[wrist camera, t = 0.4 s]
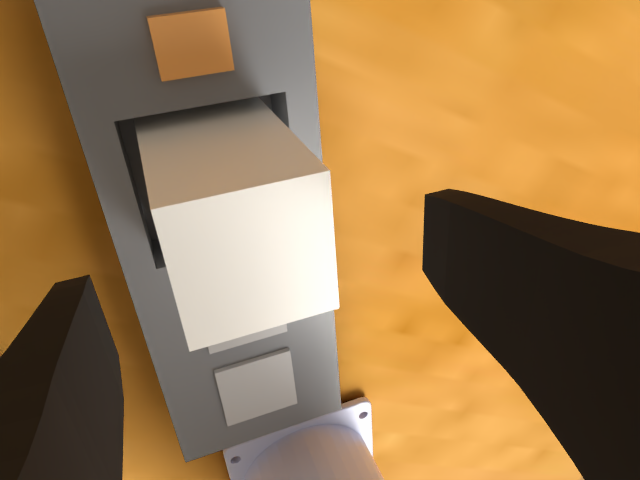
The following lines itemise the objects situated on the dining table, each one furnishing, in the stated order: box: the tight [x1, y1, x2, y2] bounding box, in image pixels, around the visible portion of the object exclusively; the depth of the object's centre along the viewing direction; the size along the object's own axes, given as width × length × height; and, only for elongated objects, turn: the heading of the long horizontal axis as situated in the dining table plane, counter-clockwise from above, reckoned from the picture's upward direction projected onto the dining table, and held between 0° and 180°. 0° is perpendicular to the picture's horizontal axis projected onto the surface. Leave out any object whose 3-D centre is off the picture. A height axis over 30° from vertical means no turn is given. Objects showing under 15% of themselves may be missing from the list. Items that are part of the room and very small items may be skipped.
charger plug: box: [134, 97, 340, 352], centre depth 15 cm, size 4×4×7 cm
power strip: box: [34, 0, 341, 462], centre depth 19 cm, size 18×7×3 cm, turn 4°
